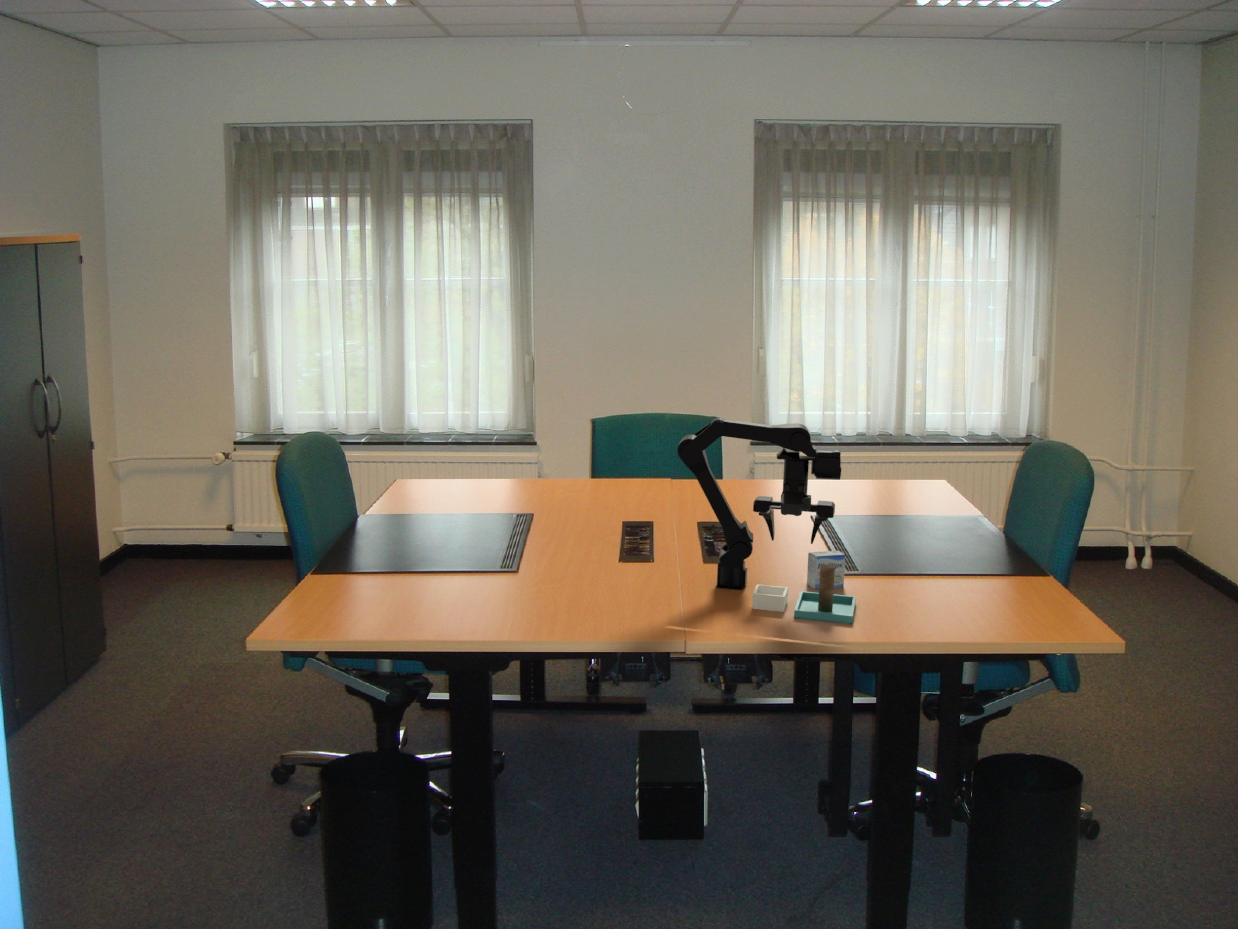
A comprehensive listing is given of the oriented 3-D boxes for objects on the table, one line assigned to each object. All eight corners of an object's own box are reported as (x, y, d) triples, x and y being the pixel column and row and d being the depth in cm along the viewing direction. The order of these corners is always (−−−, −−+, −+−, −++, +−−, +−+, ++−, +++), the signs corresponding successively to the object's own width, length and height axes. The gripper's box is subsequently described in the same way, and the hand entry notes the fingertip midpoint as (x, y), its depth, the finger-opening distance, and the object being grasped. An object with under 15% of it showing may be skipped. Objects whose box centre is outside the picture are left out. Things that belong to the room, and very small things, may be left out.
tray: (793, 620, 234) (794, 610, 234) (800, 600, 248) (800, 591, 247) (852, 626, 231) (852, 616, 231) (855, 606, 244) (855, 596, 244)
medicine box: (814, 591, 255) (816, 556, 253) (806, 585, 259) (808, 551, 257) (843, 589, 257) (846, 554, 255) (835, 583, 261) (837, 549, 259)
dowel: (817, 611, 238) (819, 568, 236) (818, 606, 241) (820, 564, 239) (832, 612, 237) (834, 570, 235) (832, 607, 240) (835, 565, 238)
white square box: (751, 610, 240) (752, 593, 239) (756, 600, 247) (757, 584, 246) (783, 613, 238) (784, 596, 237) (787, 603, 245) (788, 587, 244)
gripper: (751, 482, 244) (748, 547, 247) (833, 488, 239) (829, 554, 243) (757, 472, 255) (755, 535, 258) (836, 478, 250) (833, 542, 253)
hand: (792, 541), depth 253 cm, fingers open, 9 cm apart
